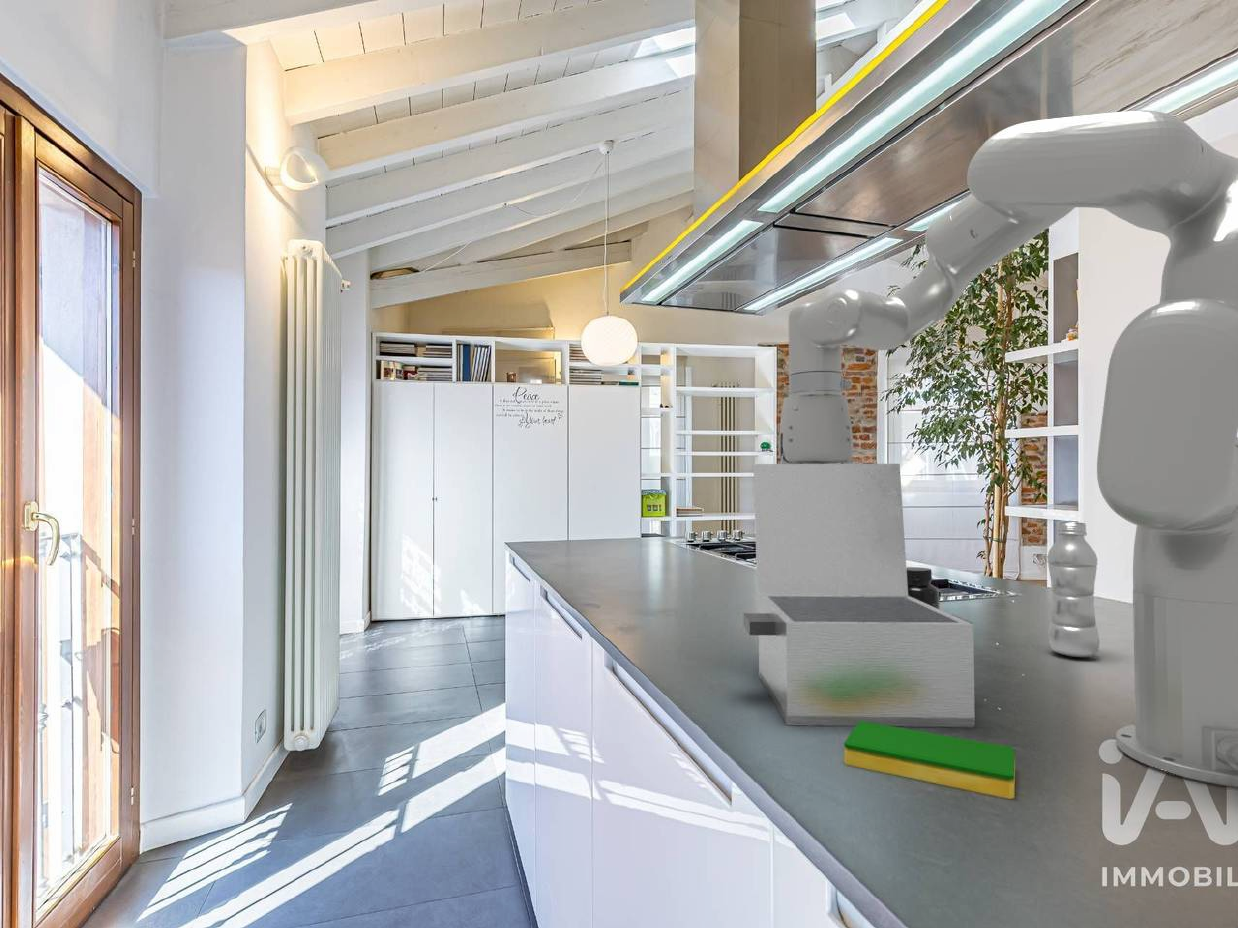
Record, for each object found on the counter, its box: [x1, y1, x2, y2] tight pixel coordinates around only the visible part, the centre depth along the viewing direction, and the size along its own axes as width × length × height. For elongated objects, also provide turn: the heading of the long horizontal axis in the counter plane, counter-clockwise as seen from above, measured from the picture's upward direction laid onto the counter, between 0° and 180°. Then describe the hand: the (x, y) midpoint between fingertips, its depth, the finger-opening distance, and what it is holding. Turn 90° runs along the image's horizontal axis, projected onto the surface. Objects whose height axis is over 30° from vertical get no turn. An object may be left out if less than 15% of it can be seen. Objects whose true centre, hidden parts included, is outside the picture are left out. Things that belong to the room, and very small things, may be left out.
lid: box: [753, 463, 908, 596], centre depth 94 cm, size 18×20×3 cm
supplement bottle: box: [906, 566, 941, 610], centre depth 110 cm, size 7×7×12 cm
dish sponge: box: [843, 721, 1016, 800], centre depth 63 cm, size 7×14×2 cm, turn 59°
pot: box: [742, 595, 976, 728], centre depth 82 cm, size 18×26×11 cm
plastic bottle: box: [1046, 521, 1100, 658], centre depth 102 cm, size 6×7×20 cm
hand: (816, 511), depth 100 cm, fingers closed
